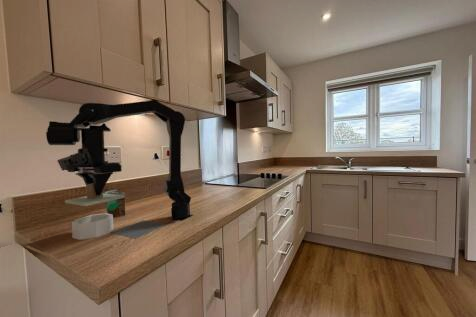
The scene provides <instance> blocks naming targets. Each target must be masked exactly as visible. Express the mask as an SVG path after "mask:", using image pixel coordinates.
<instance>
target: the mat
mask: <svg viewBox="0 0 476 317" xmlns="http://www.w3.org/2000/svg"><path fill="white" fill-rule="evenodd" d="M167 225H168V224H167V223H162V222H161V223H160V222H155V221H150V220H144V219H143V220H140V221H138V222H134V223H132V224H129V225H127V226H123V227H121V228H118V229H116V230H112V231H111V232H110V233H111V234H114V235H118V236H122V237H127V238H131V239H138V238H139V237H142V236H144V235H146V234H150V233H152V232H153V231H156V230H158V229H160V228H162V227H165V226H167Z"/></svg>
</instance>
